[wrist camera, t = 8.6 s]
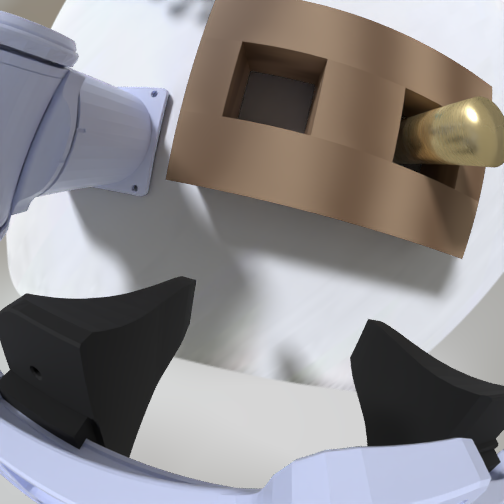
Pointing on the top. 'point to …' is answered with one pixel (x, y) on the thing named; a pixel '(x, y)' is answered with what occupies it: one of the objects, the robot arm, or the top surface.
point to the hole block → (326, 120)
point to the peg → (453, 135)
